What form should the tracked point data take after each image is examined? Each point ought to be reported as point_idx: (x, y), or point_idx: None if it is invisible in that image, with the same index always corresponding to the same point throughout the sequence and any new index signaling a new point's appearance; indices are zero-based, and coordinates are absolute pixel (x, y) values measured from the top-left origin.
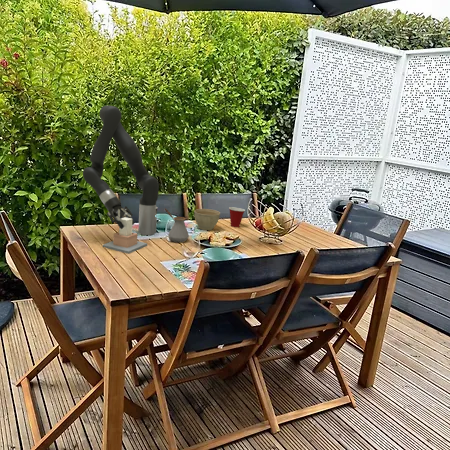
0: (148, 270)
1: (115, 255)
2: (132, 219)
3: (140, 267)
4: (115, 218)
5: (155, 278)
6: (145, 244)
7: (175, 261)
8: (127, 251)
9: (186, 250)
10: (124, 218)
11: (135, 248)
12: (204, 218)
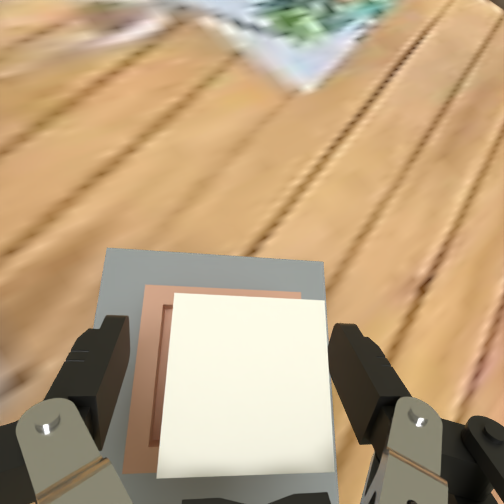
0: (414, 98)
1: (387, 312)
2: (62, 369)
3: (414, 134)
4: (500, 453)
5: (448, 56)
6: (131, 250)
7: (258, 45)
8: (322, 272)
9: (70, 41)
10: (251, 417)
11: (252, 258)
12: None
